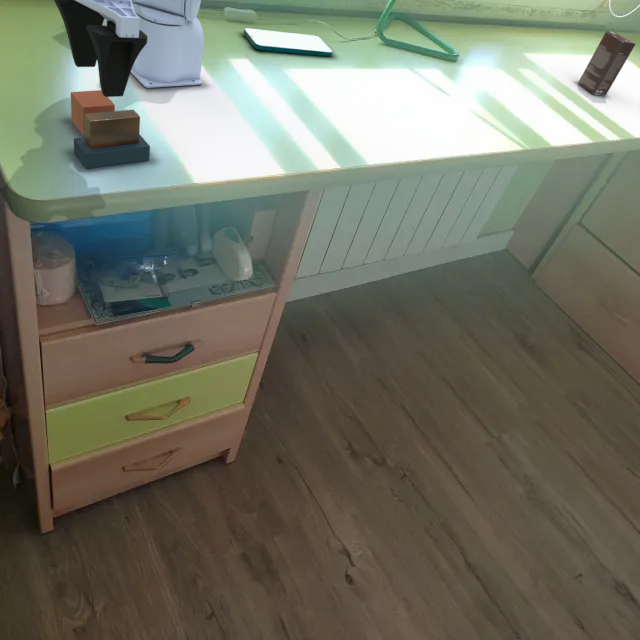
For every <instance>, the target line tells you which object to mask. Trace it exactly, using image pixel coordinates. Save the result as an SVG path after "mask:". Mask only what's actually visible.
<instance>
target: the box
mask: <svg viewBox="0 0 640 640" xmlns="http://www.w3.org/2000/svg"><path fill="white" fill-rule="evenodd" d="M598 43H599V44H598V45H597V47H596V48H595V50H594V52H593V55H592V56H591V58H590V60H589V61H588V64H587V65H586V67H585V69H584V71H583V73H582V75H581V76H580V79H579V80H578V81H577V83H578V84H579V85H580V86H581V87H583V88H584V89H586V90H587V91H589V92H590V93H591V94H593V96H606V95H608V93H609V91H610V89H611V88H612V86H613V84H614V82H615V80H616V79H617V78H618V76H619V74H620V72H621V70H622V68H623V66H624V65H625V64H626V61H627V60H628V58H629V57H630V55H631V53H632V52H633V49H634V48H635V47H636V45H637V44H636V43H635V42H634V41H632V40H630V39H628V38H627V37H625V36H624V35H622V34H620V33H617V32H613V31H608V30H606V31H605V33H604V34H603V36H602V38H601V40H600V42H598Z"/></svg>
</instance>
